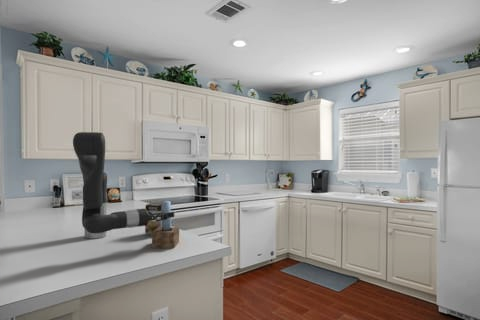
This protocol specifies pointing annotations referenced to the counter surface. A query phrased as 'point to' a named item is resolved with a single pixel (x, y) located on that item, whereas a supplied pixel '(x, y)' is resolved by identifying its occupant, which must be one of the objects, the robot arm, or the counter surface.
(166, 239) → the socket block
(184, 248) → the counter surface
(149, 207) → the coffee box
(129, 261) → the counter surface
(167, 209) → the peg
